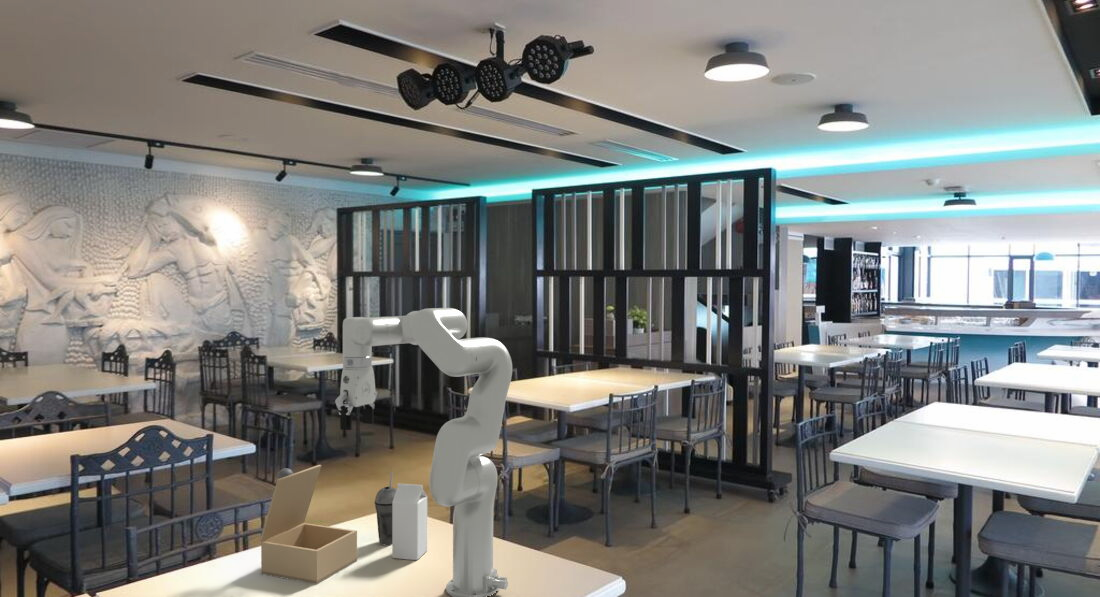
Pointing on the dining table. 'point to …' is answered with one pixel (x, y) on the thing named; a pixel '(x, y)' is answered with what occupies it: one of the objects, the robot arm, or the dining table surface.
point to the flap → (290, 500)
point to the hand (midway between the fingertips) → (357, 426)
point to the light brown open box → (309, 552)
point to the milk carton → (409, 522)
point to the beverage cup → (385, 513)
